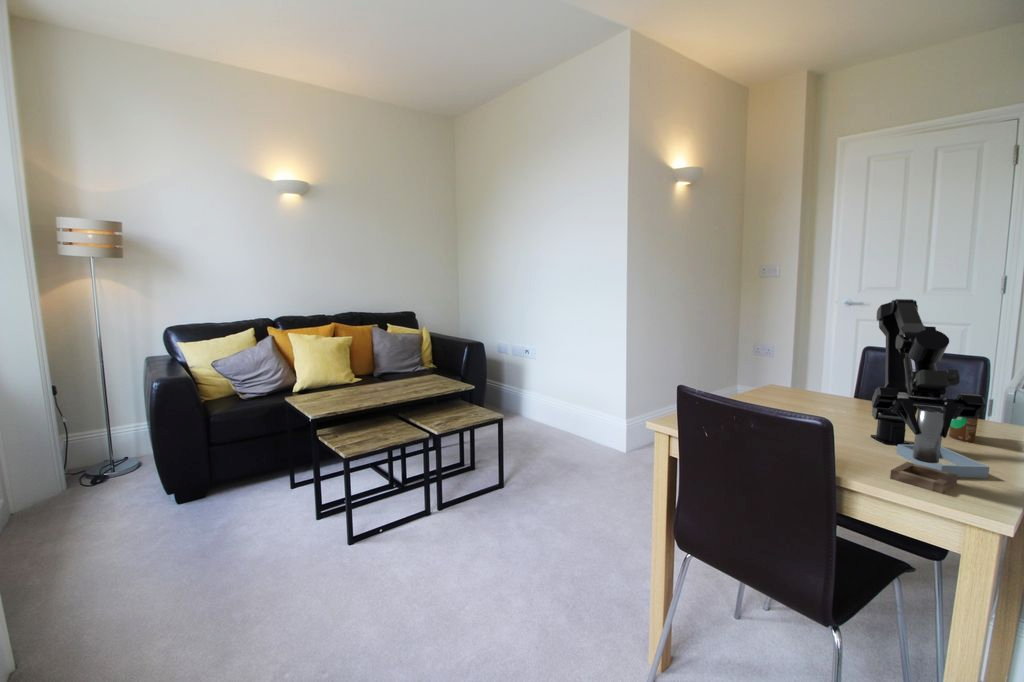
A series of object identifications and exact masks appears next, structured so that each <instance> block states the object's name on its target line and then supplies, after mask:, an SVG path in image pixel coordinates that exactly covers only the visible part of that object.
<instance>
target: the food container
mask: <svg viewBox="0 0 1024 682" xmlns="http://www.w3.org/2000/svg"><path fill="white" fill-rule="evenodd" d="M979 417H980V416H978V417H976V418H966V417H958V418H957V419H952V421H951V424H950V427H949V430H948V436H949V437H950V439H951V438H952V439H953V440H956V441H959V442H963V443H967V442H968V444H973V443H974V444H975V442H976V435H977V428H978V420H979Z"/></svg>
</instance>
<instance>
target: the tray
mask: <svg viewBox="0 0 1024 682" xmlns="http://www.w3.org/2000/svg"><path fill="white" fill-rule="evenodd" d="M896 447H897V448H896V455H898V456H900V457H902V458H903V459H906V460H908V462H909V461H910V463H914V464H918V465H922V466H926V467H929V468H933V469H937V470H941V471H945V472H948V473H952V474H956V475H958V477H957V478H978V479H979V478H983V479H985V478H986V479H988V478H989V474H990V473H989V472H990V466H988V465H986V464H984V463H981V462H979V461H977V460H975V459H972V458H969V457H967V456H965V455H962V454H960V453H959V452H955V451H953V450H952V449H949V448H947V447H944V446H942V445H941V449H940V456H939V459H943V460H945V461H947V462H949V463H952V464H943V463H941V462H940V461H939V462H938V463H927V462H922V461H918V460H916V459H914V458H913V449H914V444H909V445H907V444H897V446H896Z"/></svg>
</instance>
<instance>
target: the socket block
mask: <svg viewBox="0 0 1024 682" xmlns="http://www.w3.org/2000/svg"><path fill="white" fill-rule="evenodd" d="M958 478H959V477H958V475H956V474H952V473H948V472H945V471H941V470H937V469H933V468H929V467H926V466H922V465H918V464H915V463H913V462H911V461H910V462H909V461H905V462H904V463H901V464H899V466H898V465H897V466H896V467H894V468H892V469H891V470H890V477H889V479H890V480H893V481H896V482H900V483H904V484H906V485H910V486H913V487H916V488H920V489H924V490H927V491H930V492H935V493H937V494H941V495H943V493H945V492H946V491H948V490H949V489H952V488H953V487H954V486H956V485H957V482H958Z"/></svg>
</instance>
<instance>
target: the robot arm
mask: <svg viewBox="0 0 1024 682" xmlns="http://www.w3.org/2000/svg"><path fill="white" fill-rule="evenodd" d="M918 309H919V307H918V303H917V300H914V299H912V298H911V299H909V298H908V299H905V298H904V299H902V298H901V299H900V298H899V299H898V298H895V299H892V300H891V301H890V302H887V303H883V304H881V305H880V306H879V307H878V308H877V310H876V321H877V322H878V328H879V330H880V331H881V333H883V335H884V336H885V363H884V364H885V365H884V366H885V369H884V370H885V373H884V375H885V376H884V377H885V378H884V380H885V381H884V382H885V383H884V386H877V387H876V388H875V390H874V391H873V392H874V393H873V395H872V397H871V405H872V409H871V417H873V419H874V420H876V421H877V426H876V434H871V435H870V437H871V439H874V440H876V439H877V440H876V441H878V440H879V442H880V441H881V442H880V443H882V442H883V443H882V444H884V443H885V445H898V444H904V445H911V444H910V443H911V442H909V441H908V440H907V441H906V440H905V438H906V431H907V430H906V427H907V426H908V428H909V429H910V430H911V431H912V433H913V434H914V436H915V435H917V434H918V425H917V417H916V414H917V413H918V409H919V408H918V406H922V407H933V408H941V411H944V412H945V418H944V426H943V433H942V439H946V438H947V436H948V435H949V427H950V424H951V421H952V419H957V418H958V417H966V418H976V417H978V416H979V415H980V414H981V413H982V412H983V411H984V409H985V407H987V403H986V399H985V398H984V397H983V395H980V394H972V393H962V392H961V393H958V395H957V396H956V397H955V399H954V398H953V399H952V398H946V397H942V396H943V395H945V394H946V392H947V388H948V387H949V386H954V387H956V386H957V385H958V384H959V383H961V379H960V373H959V370H958V369H946V370H938V369H937V364H936V363H939V362H940V361H941V360H942V357H943V356H944V353H945V352H946V349H947V347H948V345H949V344H950V338H949V337H948V336H947V335H946V334H945V333H944V332H942V331H940V330H937V328H936V326H928V325H927V326H926V325H925V324H924V323H923V321H922V319H921V316H920V314H919V312H918V311H919V310H918ZM979 417H980V416H979ZM979 417H978V418H979Z"/></svg>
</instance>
